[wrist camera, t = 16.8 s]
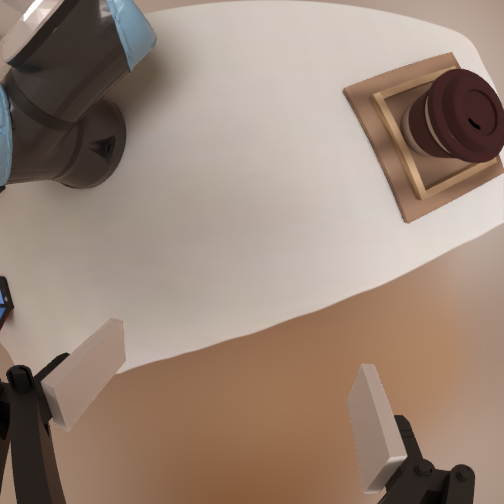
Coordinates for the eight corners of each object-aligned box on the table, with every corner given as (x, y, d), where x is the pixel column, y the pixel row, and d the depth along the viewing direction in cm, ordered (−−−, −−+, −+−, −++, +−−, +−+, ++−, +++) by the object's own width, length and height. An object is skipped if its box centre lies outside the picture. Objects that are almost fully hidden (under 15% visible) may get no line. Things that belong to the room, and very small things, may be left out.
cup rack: (342, 91, 37) (347, 84, 33) (447, 55, 33) (457, 47, 29) (404, 222, 40) (413, 225, 36) (499, 171, 36) (512, 172, 32)
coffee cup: (430, 86, 33) (485, 54, 19) (462, 148, 35) (527, 142, 20) (377, 111, 35) (420, 80, 21) (412, 177, 37) (470, 179, 22)
